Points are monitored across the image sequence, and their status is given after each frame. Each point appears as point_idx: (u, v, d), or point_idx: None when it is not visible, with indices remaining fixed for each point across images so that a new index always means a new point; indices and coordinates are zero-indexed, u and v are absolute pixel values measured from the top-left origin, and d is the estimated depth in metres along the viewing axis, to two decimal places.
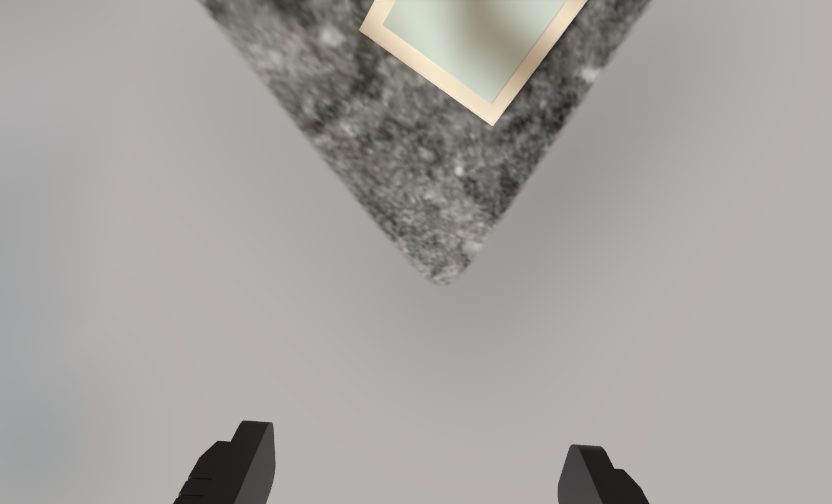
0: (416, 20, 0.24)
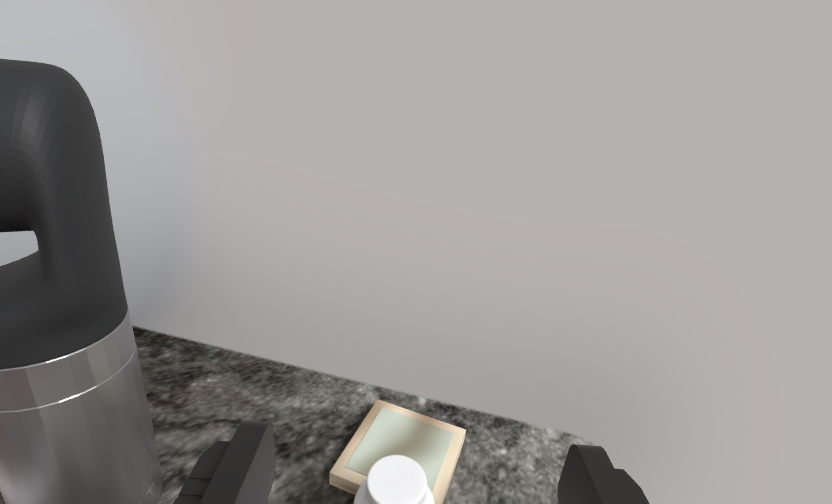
0: None
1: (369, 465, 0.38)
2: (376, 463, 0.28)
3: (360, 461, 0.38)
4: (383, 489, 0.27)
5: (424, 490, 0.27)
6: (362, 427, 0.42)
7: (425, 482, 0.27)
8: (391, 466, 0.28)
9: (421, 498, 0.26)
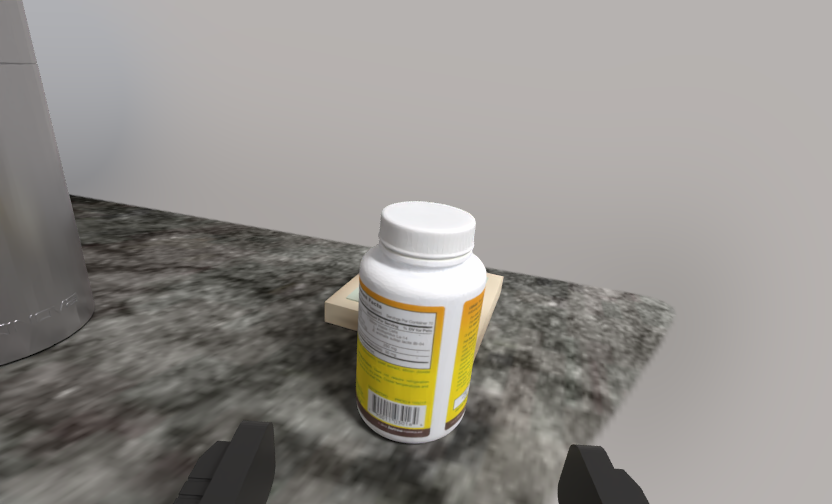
0: None
1: None
2: (395, 203, 0.18)
3: None
4: (407, 218, 0.17)
5: (473, 223, 0.17)
6: None
7: (473, 218, 0.17)
8: (418, 207, 0.18)
9: (469, 230, 0.17)
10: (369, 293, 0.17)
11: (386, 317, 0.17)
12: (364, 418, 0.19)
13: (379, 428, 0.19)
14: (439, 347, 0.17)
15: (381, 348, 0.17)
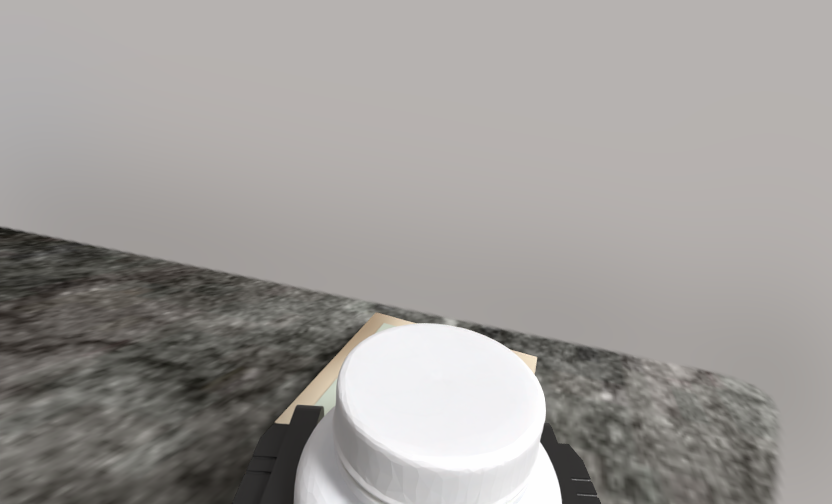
0: None
1: None
2: (371, 338, 0.09)
3: None
4: (394, 405, 0.07)
5: (542, 410, 0.07)
6: (347, 350, 0.23)
7: (538, 388, 0.08)
8: (419, 346, 0.09)
9: (538, 435, 0.07)
10: None
11: None
12: None
13: None
14: None
15: None
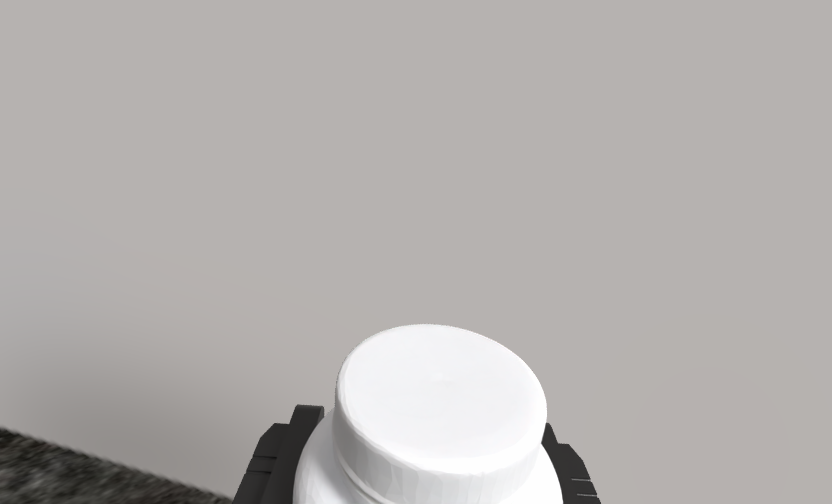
0: None
1: None
2: (371, 338, 0.09)
3: None
4: (394, 407, 0.07)
5: (543, 412, 0.07)
6: None
7: (539, 389, 0.08)
8: (419, 347, 0.09)
9: (539, 437, 0.07)
10: None
11: None
12: None
13: None
14: None
15: None
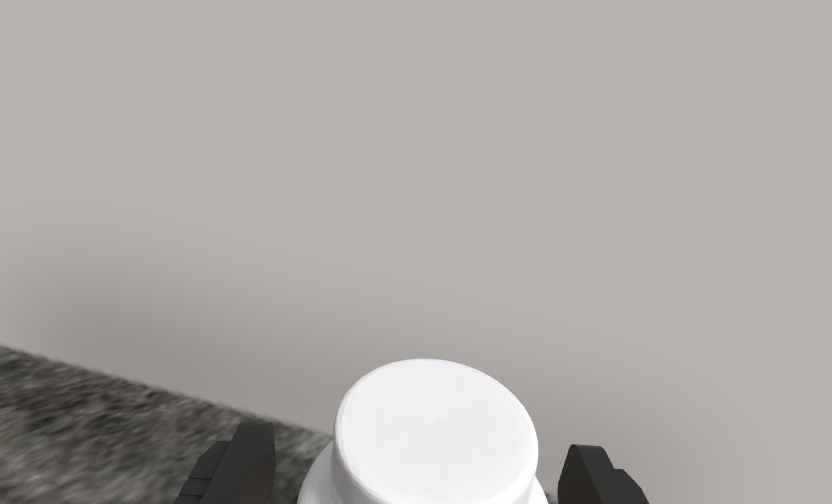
0: None
1: None
2: (368, 376, 0.09)
3: None
4: (389, 450, 0.07)
5: (535, 453, 0.08)
6: None
7: (531, 429, 0.08)
8: (415, 384, 0.09)
9: (530, 480, 0.07)
10: None
11: None
12: None
13: None
14: None
15: None
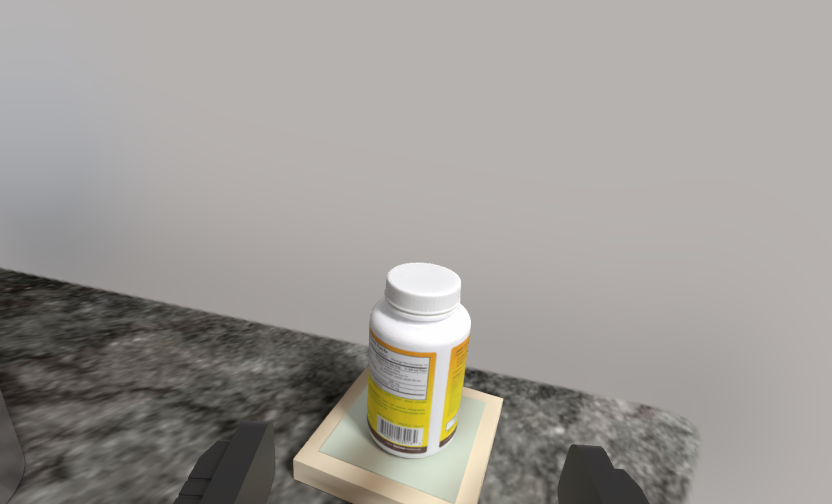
0: (440, 470, 0.23)
1: (357, 448, 0.24)
2: (397, 266, 0.23)
3: (343, 442, 0.24)
4: (407, 282, 0.21)
5: (458, 285, 0.22)
6: (349, 395, 0.28)
7: (459, 280, 0.22)
8: (416, 269, 0.23)
9: (455, 291, 0.21)
10: (377, 340, 0.22)
11: (390, 359, 0.21)
12: (374, 437, 0.24)
13: (386, 446, 0.23)
14: (432, 383, 0.21)
15: (387, 383, 0.22)
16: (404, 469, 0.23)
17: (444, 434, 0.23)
